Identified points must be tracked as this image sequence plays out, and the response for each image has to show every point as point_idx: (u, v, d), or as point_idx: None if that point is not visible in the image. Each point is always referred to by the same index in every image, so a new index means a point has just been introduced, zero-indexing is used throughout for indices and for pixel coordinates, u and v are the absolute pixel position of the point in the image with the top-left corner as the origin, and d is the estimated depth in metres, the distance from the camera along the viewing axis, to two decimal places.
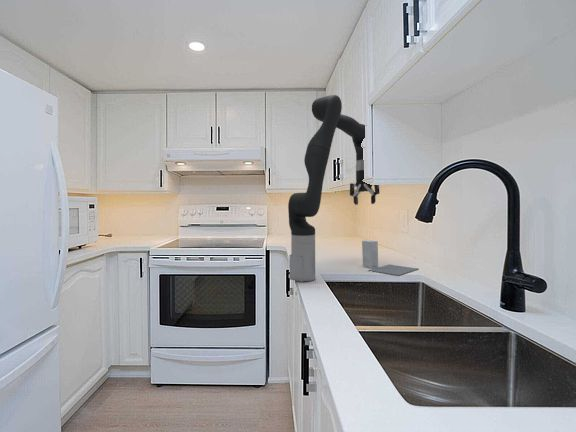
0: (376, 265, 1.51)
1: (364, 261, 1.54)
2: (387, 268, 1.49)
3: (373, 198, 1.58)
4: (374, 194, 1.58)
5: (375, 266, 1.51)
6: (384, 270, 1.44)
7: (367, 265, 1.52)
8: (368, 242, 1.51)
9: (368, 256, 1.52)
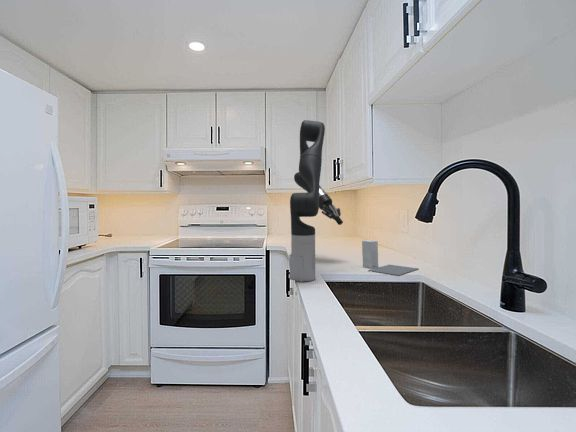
0: (376, 265, 1.51)
1: (364, 261, 1.54)
2: (387, 268, 1.49)
3: None
4: (338, 216, 1.67)
5: (375, 266, 1.51)
6: (384, 270, 1.44)
7: (367, 265, 1.52)
8: (368, 242, 1.51)
9: (368, 256, 1.52)
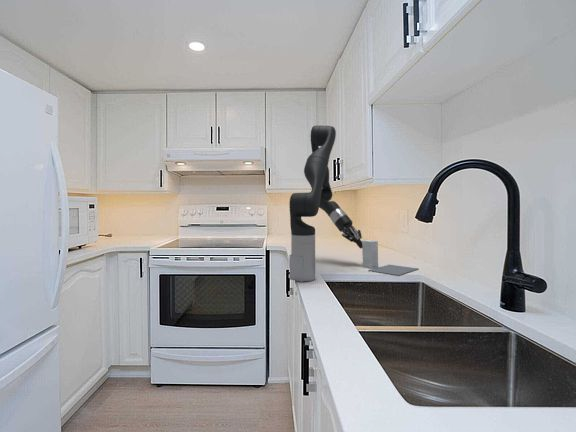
0: (376, 265, 1.51)
1: (364, 261, 1.54)
2: (387, 268, 1.49)
3: None
4: (359, 238, 1.59)
5: (375, 266, 1.51)
6: (384, 270, 1.44)
7: (367, 265, 1.52)
8: (368, 242, 1.51)
9: (368, 256, 1.52)
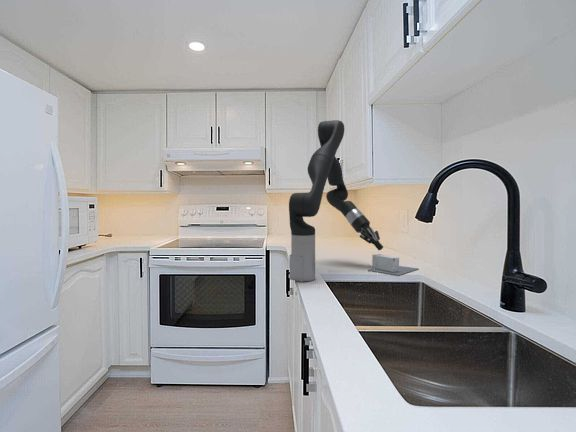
0: None
1: (376, 258, 1.48)
2: None
3: None
4: None
5: None
6: None
7: (373, 262, 1.49)
8: (391, 268, 1.40)
9: (380, 264, 1.45)
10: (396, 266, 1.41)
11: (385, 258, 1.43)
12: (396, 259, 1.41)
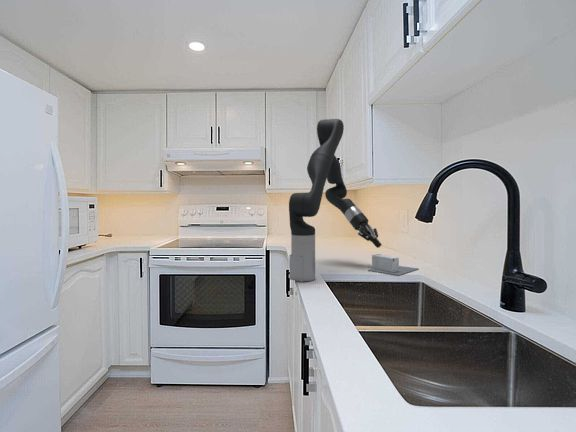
0: None
1: (375, 258, 1.48)
2: None
3: None
4: None
5: None
6: None
7: (373, 262, 1.49)
8: (391, 268, 1.40)
9: (380, 265, 1.45)
10: (396, 266, 1.41)
11: (385, 258, 1.43)
12: (396, 259, 1.40)
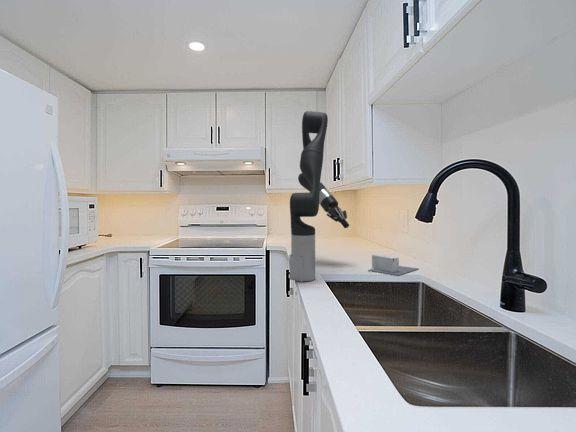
0: None
1: (375, 258, 1.48)
2: None
3: None
4: (344, 218, 1.58)
5: None
6: None
7: (373, 262, 1.49)
8: (391, 268, 1.40)
9: (380, 265, 1.45)
10: (396, 266, 1.41)
11: (385, 258, 1.43)
12: (396, 259, 1.40)
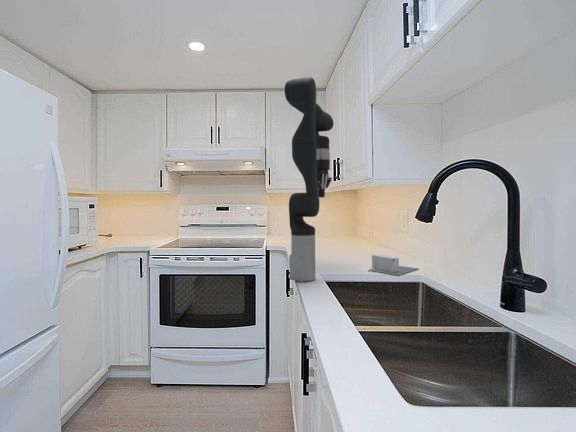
0: None
1: (375, 258, 1.48)
2: None
3: (324, 192, 1.57)
4: None
5: None
6: None
7: (373, 262, 1.49)
8: (391, 268, 1.40)
9: (380, 265, 1.45)
10: (396, 266, 1.41)
11: (385, 258, 1.43)
12: (396, 259, 1.40)
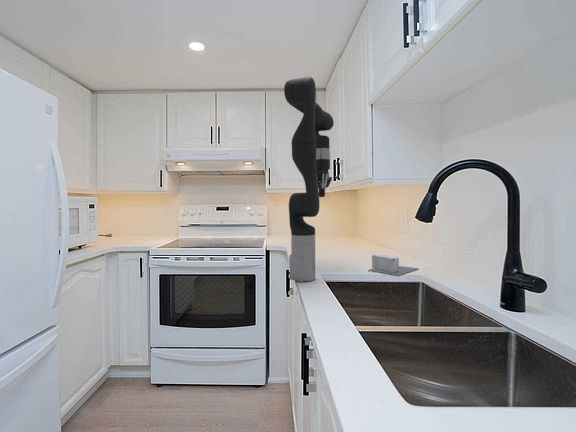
0: None
1: (375, 258, 1.48)
2: None
3: (324, 191, 1.57)
4: None
5: None
6: None
7: (373, 262, 1.49)
8: (391, 268, 1.40)
9: (380, 265, 1.45)
10: (396, 266, 1.41)
11: (385, 258, 1.43)
12: (396, 259, 1.40)
